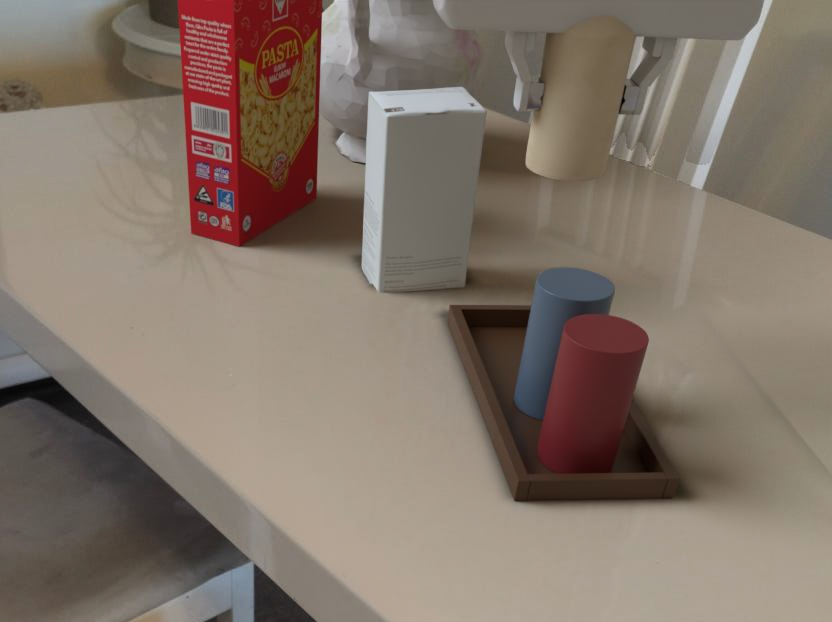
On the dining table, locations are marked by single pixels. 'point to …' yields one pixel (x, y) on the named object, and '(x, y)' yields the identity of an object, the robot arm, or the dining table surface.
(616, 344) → the burgundy candle
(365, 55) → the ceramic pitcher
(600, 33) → the candle
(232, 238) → the food packaging
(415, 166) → the cosmetic box
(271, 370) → the dining table surface
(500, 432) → the tray
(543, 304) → the slate candle
